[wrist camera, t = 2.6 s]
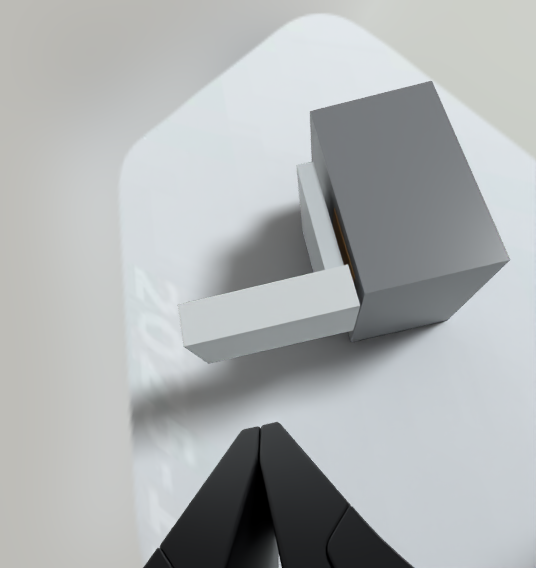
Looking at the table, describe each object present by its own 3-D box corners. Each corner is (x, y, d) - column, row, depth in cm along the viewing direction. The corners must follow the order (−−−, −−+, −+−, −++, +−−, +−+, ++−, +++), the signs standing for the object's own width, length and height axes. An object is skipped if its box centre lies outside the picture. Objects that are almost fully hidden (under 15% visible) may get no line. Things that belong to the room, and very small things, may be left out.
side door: (348, 347, 21) (360, 305, 15) (226, 375, 21) (183, 346, 15) (315, 228, 23) (312, 145, 17) (205, 254, 24) (160, 183, 17)
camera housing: (447, 320, 22) (510, 259, 15) (350, 342, 23) (364, 293, 15) (393, 173, 26) (423, 62, 18) (308, 193, 26) (303, 92, 18)
